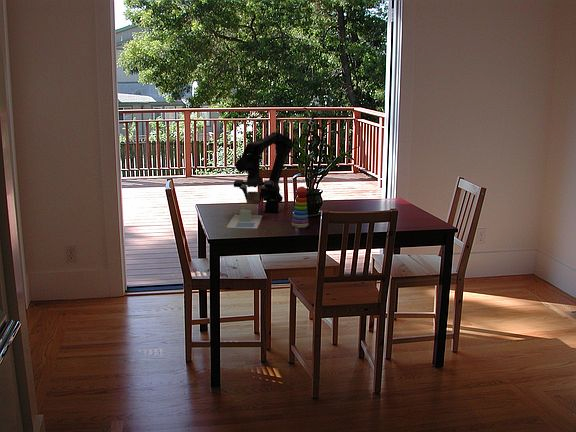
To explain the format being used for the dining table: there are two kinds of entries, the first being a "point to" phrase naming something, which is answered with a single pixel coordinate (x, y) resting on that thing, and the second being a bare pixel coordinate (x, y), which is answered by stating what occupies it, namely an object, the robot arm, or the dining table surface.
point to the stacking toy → (300, 209)
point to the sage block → (245, 215)
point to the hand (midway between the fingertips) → (253, 201)
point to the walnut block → (253, 197)
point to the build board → (237, 224)
